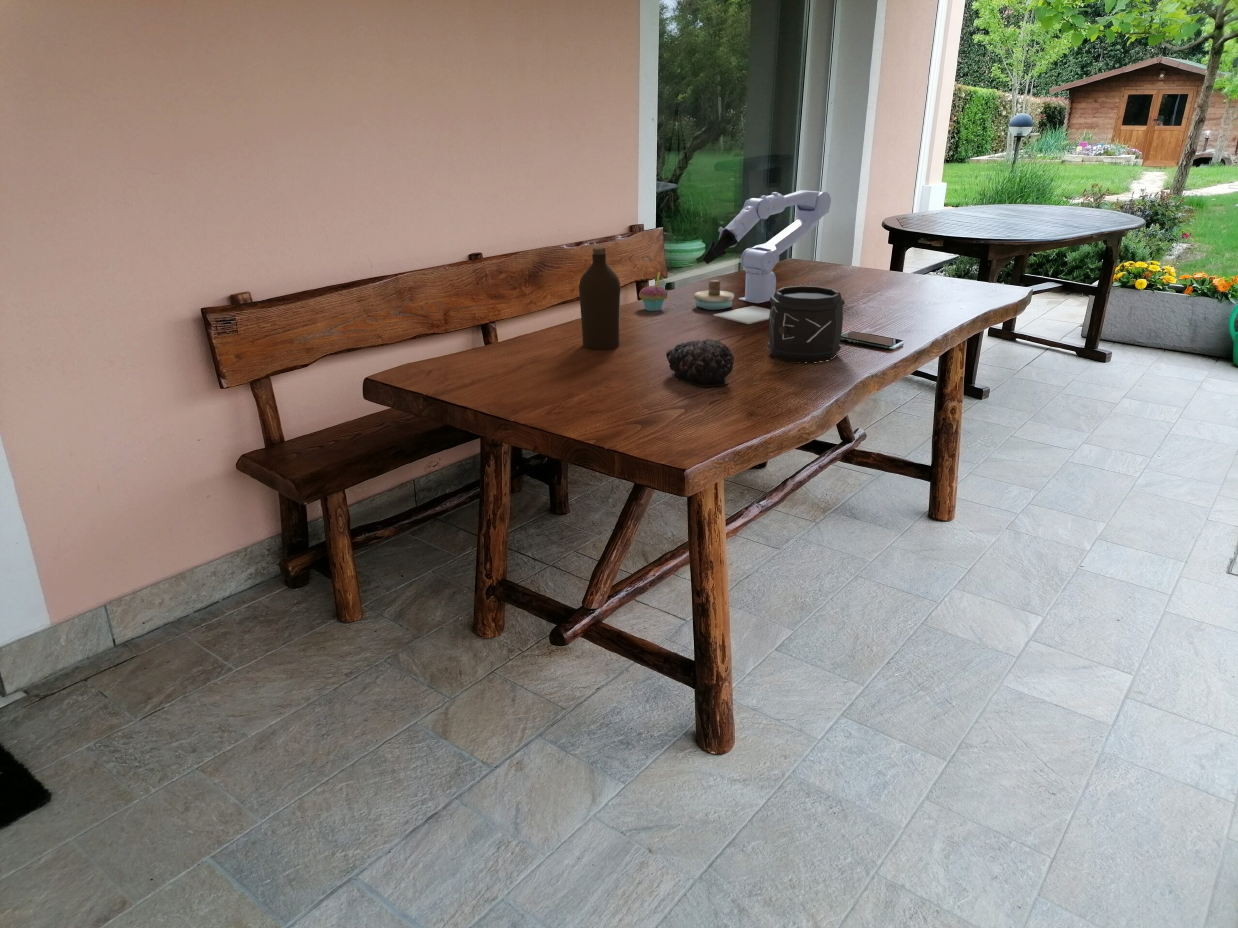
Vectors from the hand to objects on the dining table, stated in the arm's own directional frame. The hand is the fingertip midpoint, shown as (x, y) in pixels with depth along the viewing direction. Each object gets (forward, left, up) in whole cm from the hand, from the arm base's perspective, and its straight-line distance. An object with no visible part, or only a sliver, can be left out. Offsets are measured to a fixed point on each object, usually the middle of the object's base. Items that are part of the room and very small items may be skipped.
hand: (709, 257), depth 261 cm
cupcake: (+12, -12, -16) cm, 23 cm away
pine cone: (+52, +48, -16) cm, 73 cm away
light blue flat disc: (-3, -1, -16) cm, 16 cm away
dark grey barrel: (+19, +51, -16) cm, 57 cm away
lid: (-3, -1, -13) cm, 13 cm away
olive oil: (+50, +10, -16) cm, 53 cm away
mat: (-4, +13, -16) cm, 21 cm away
